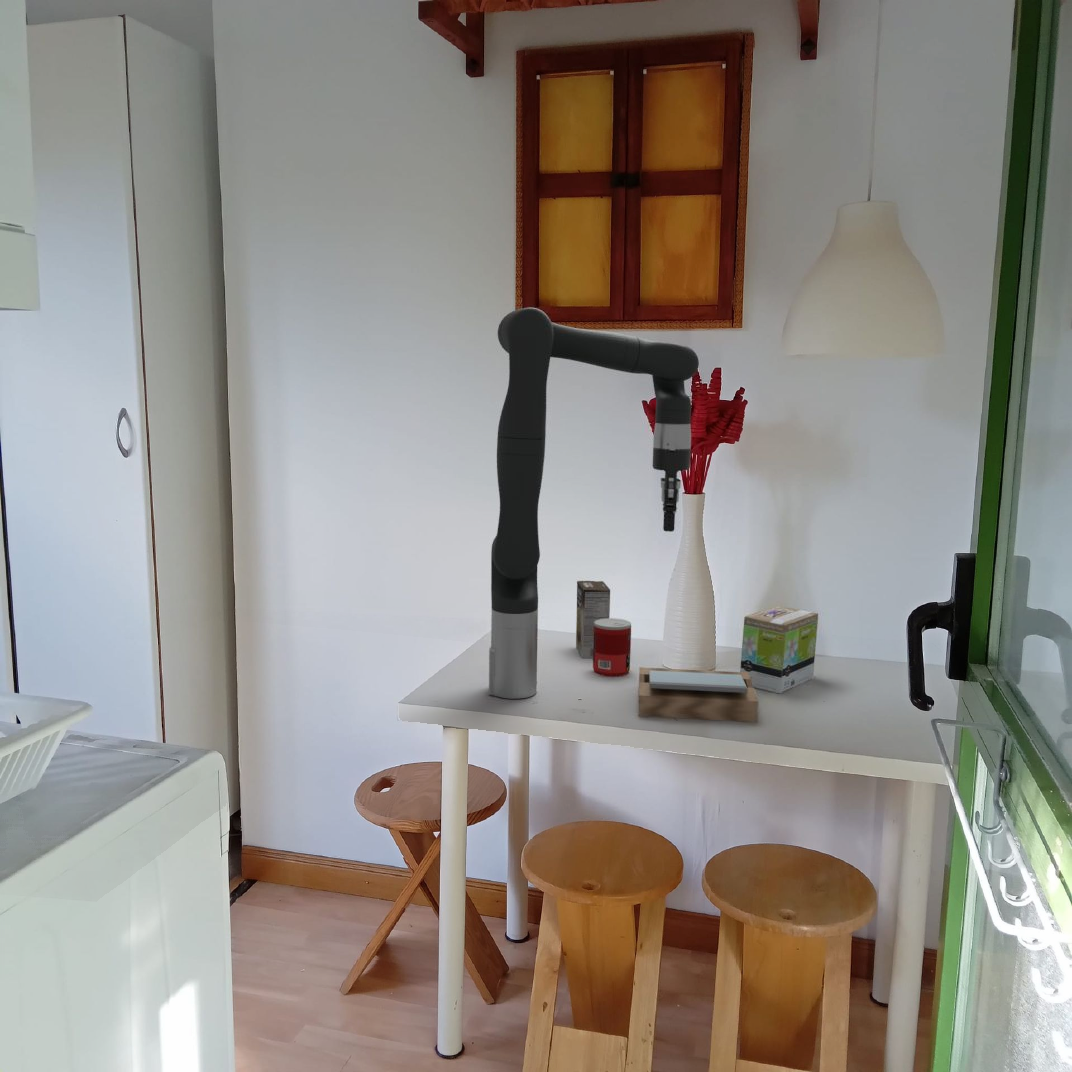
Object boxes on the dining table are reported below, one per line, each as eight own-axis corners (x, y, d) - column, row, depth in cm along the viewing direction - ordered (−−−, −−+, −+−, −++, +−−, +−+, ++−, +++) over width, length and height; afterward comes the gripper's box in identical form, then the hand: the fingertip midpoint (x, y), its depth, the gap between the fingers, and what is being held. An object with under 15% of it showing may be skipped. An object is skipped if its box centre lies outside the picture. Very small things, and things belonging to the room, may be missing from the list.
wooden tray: (638, 715, 183) (638, 695, 183) (638, 686, 201) (639, 667, 200) (757, 722, 181) (758, 701, 180) (747, 691, 199) (748, 672, 198)
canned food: (634, 676, 208) (636, 626, 206) (598, 678, 206) (600, 627, 204) (623, 665, 215) (624, 617, 213) (588, 667, 213) (589, 618, 212)
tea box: (782, 695, 197) (786, 624, 195) (738, 684, 203) (741, 615, 201) (814, 678, 208) (819, 611, 206) (772, 669, 215) (775, 603, 212)
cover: (649, 688, 183) (650, 683, 183) (649, 674, 195) (649, 670, 195) (747, 692, 181) (747, 688, 181) (740, 678, 193) (740, 674, 193)
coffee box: (574, 647, 229) (576, 580, 226) (601, 647, 230) (603, 580, 227) (580, 658, 220) (582, 588, 217) (608, 658, 221) (610, 588, 218)
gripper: (652, 443, 203) (650, 525, 206) (653, 447, 190) (650, 535, 193) (689, 444, 203) (685, 526, 205) (692, 448, 190) (688, 536, 192)
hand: (668, 530), depth 199 cm, fingers closed
